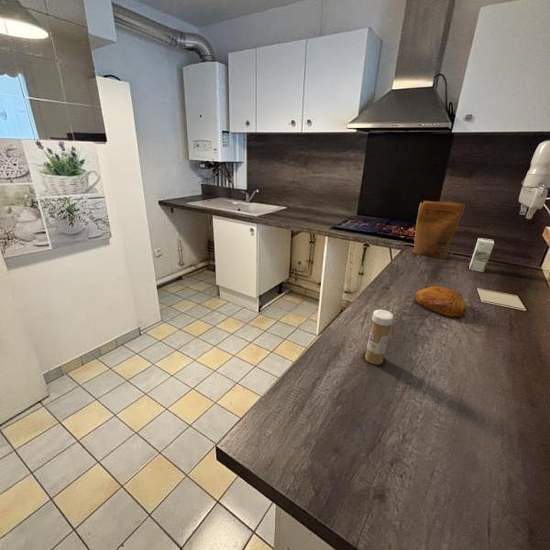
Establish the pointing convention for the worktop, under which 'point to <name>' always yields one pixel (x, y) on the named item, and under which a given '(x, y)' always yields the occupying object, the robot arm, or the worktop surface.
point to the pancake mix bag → (436, 227)
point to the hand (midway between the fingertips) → (524, 216)
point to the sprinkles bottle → (378, 336)
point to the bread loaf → (442, 300)
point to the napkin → (500, 299)
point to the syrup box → (481, 254)
